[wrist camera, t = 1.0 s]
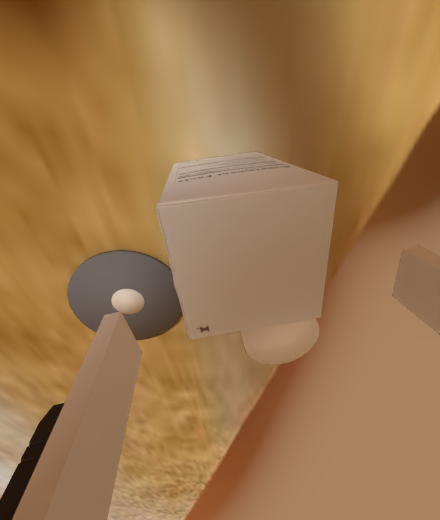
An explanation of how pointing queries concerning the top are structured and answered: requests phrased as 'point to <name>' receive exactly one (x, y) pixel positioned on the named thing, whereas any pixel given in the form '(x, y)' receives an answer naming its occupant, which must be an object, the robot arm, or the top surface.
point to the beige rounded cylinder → (280, 341)
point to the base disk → (125, 292)
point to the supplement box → (246, 241)
